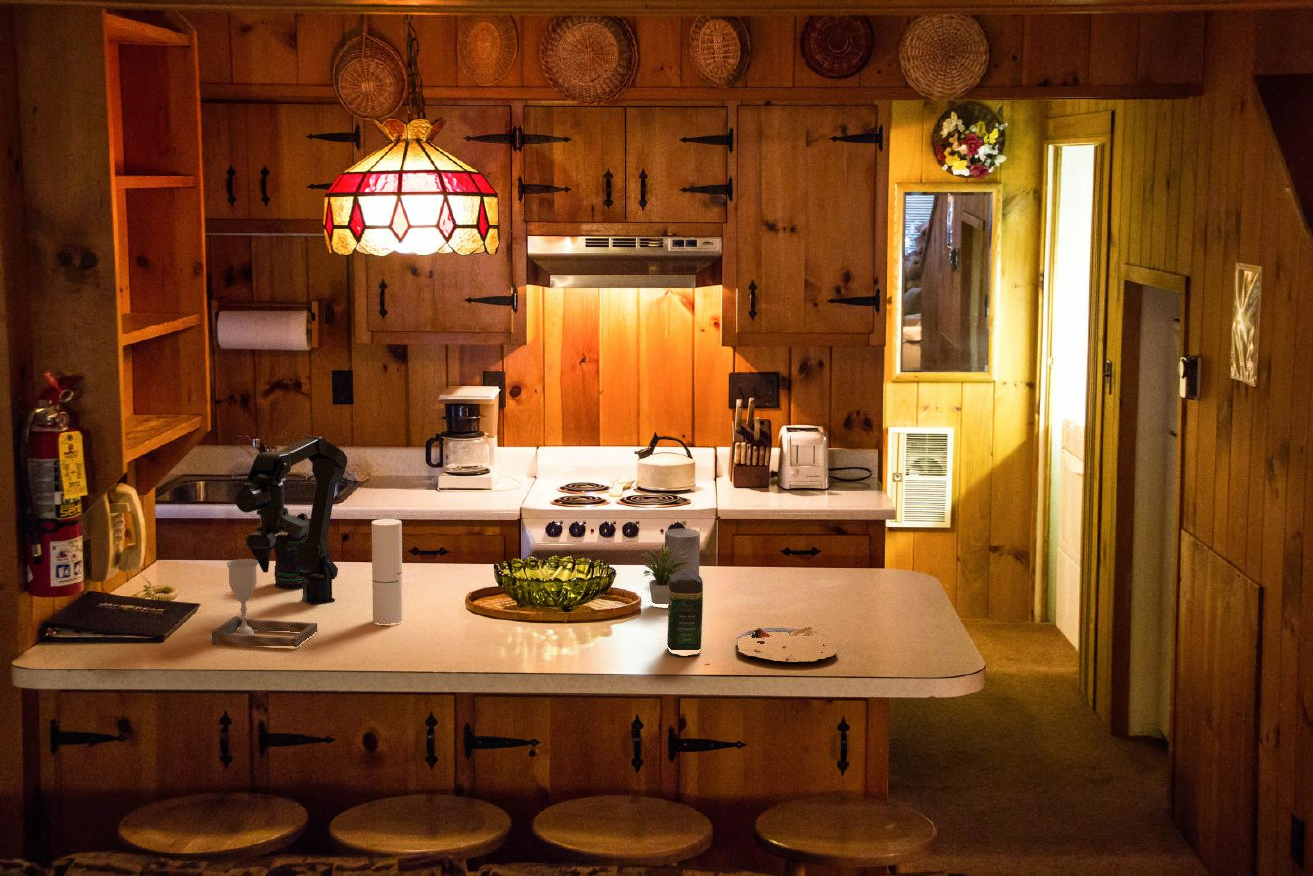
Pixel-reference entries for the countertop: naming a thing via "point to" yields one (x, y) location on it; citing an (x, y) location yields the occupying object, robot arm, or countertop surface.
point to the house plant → (662, 574)
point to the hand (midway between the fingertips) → (273, 567)
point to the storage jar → (289, 567)
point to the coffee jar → (685, 611)
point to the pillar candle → (684, 548)
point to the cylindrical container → (387, 571)
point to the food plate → (792, 632)
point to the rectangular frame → (226, 636)
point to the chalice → (243, 586)
